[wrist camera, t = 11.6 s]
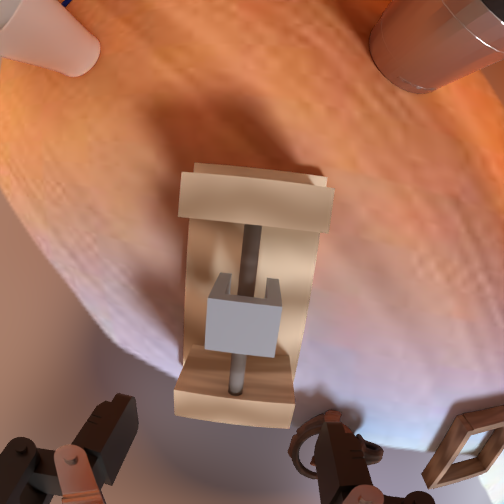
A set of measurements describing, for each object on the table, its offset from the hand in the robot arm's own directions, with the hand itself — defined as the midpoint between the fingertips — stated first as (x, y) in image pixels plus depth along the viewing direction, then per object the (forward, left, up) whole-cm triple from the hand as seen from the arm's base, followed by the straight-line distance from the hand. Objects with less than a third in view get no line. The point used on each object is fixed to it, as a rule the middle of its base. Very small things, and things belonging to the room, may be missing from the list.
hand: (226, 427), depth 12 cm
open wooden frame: (+25, +40, -20) cm, 51 cm away
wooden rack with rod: (0, 0, -20) cm, 20 cm away
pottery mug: (+20, +13, -20) cm, 31 cm away
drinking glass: (-23, -21, -20) cm, 37 cm away
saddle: (0, 0, -16) cm, 16 cm away
